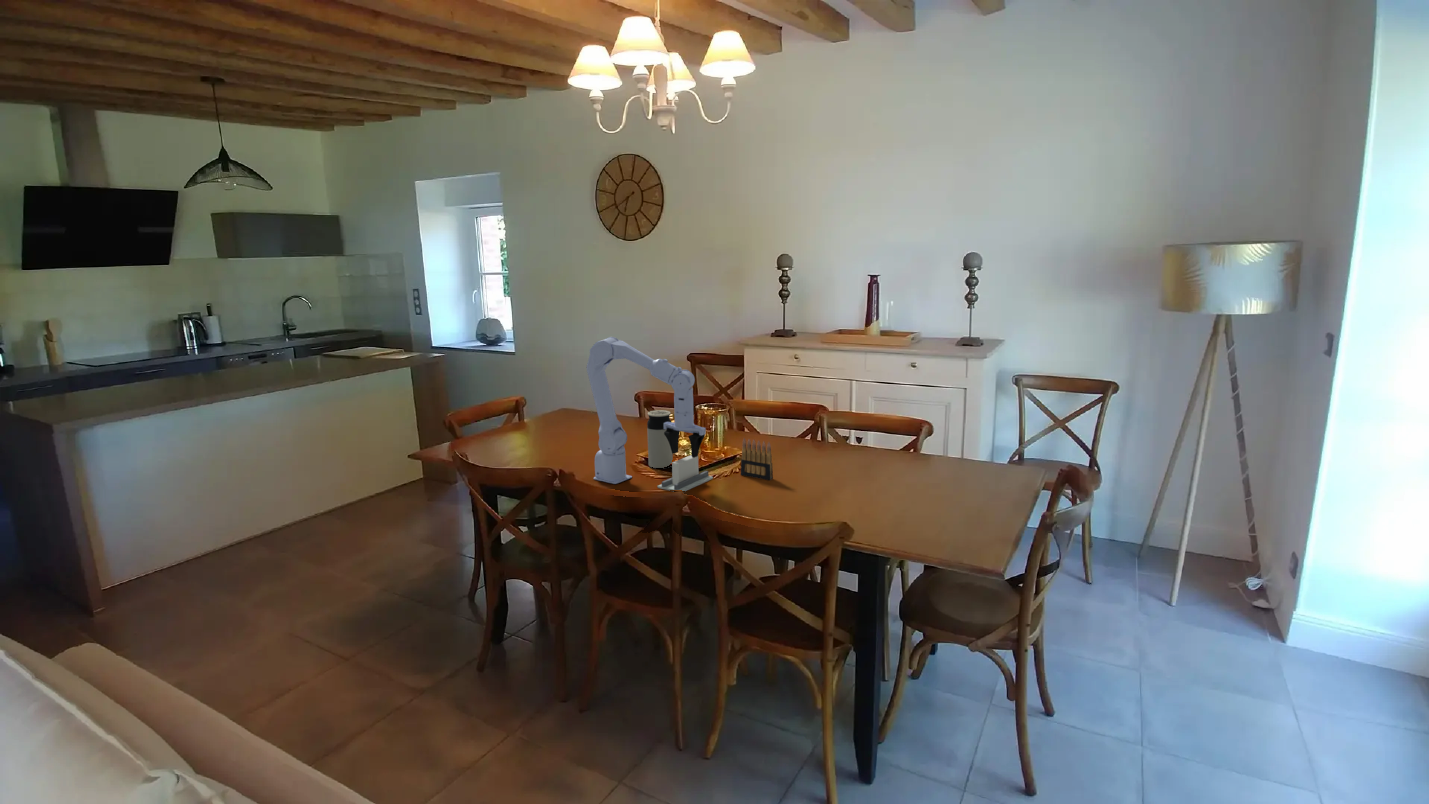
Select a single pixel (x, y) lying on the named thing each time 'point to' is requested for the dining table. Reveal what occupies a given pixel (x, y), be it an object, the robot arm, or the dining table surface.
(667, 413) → the travel mug
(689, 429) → the robot arm
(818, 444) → the dining table surface
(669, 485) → the track
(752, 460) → the ammunition clip
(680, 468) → the door panel
